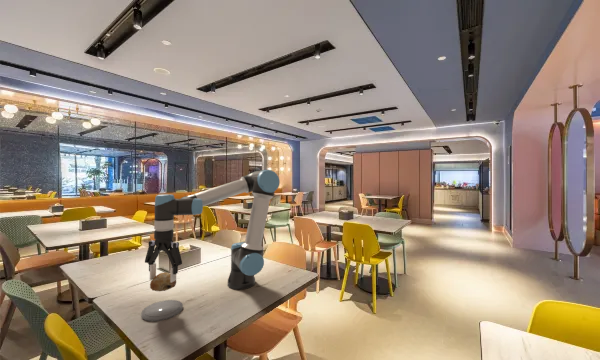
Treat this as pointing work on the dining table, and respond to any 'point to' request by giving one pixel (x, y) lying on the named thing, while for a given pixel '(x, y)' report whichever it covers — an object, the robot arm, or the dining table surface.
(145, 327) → the dining table surface
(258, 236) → the robot arm
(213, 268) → the dining table surface
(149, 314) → the plate
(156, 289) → the bread roll
